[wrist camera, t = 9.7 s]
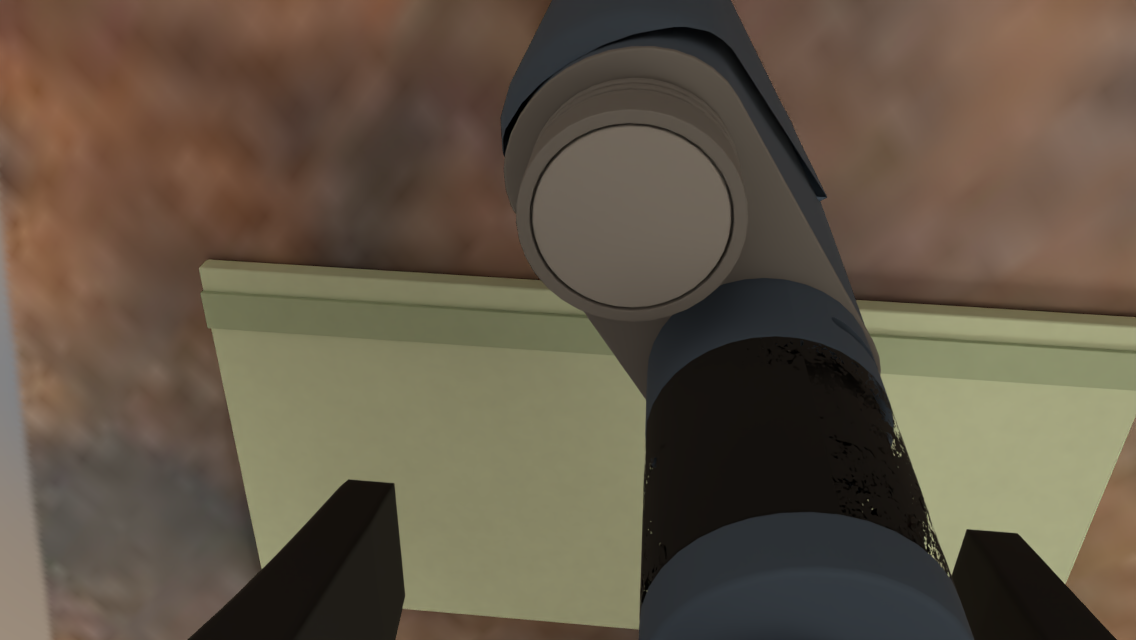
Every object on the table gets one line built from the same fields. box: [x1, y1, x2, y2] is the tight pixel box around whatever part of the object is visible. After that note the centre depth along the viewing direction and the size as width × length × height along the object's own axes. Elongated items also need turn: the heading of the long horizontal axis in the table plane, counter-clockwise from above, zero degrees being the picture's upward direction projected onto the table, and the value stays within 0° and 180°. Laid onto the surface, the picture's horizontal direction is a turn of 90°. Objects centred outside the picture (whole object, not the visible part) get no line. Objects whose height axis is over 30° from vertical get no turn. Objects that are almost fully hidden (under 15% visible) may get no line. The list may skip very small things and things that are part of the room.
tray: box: [199, 260, 1136, 629], centre depth 19 cm, size 9×18×1 cm, turn 89°
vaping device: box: [501, 0, 974, 640], centre depth 10 cm, size 3×5×12 cm, turn 33°
